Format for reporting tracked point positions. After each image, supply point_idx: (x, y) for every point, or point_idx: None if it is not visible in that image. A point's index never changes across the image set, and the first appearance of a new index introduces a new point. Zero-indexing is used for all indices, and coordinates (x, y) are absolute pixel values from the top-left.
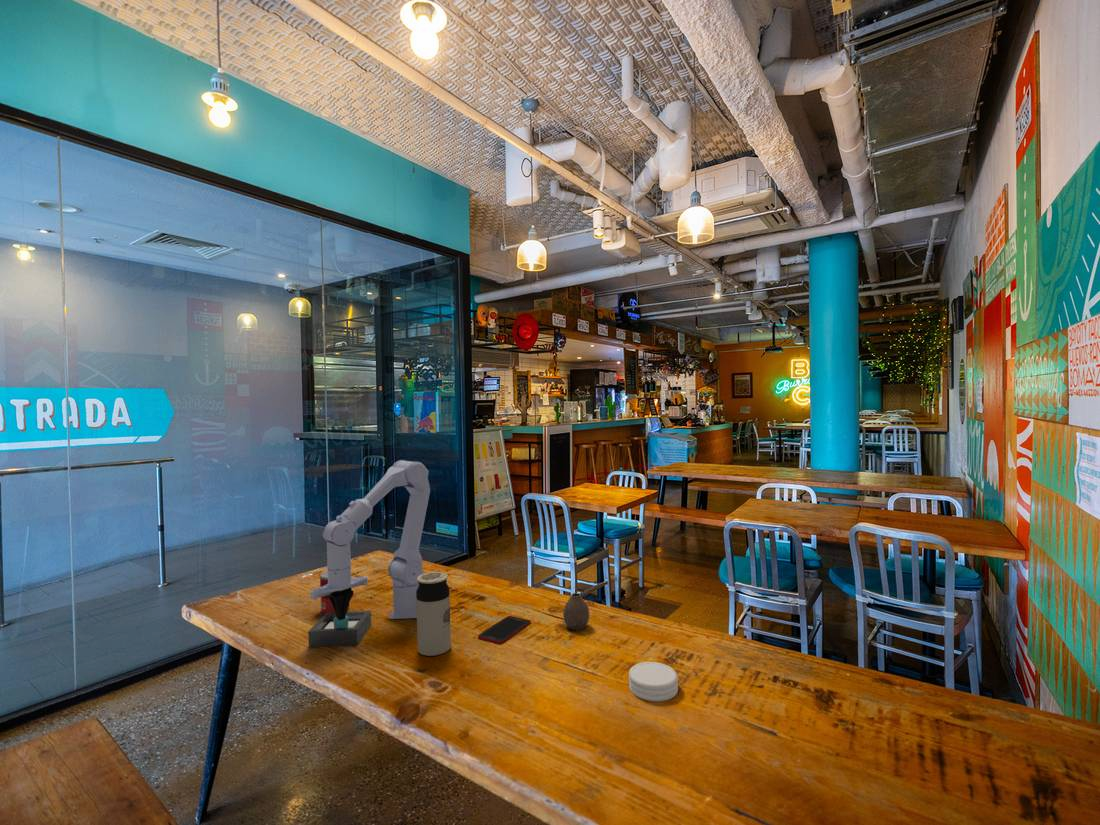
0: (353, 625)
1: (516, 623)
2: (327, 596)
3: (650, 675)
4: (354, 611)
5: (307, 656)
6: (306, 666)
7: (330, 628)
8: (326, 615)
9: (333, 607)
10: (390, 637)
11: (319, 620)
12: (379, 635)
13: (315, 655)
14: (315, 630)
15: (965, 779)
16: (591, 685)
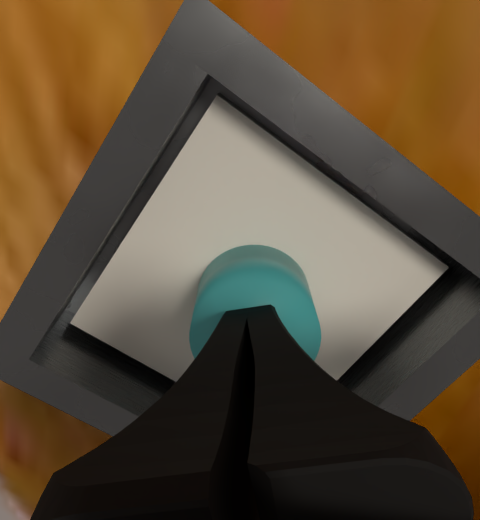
0: (342, 314)
1: None
2: (66, 471)
3: None
4: (445, 192)
5: (22, 400)
6: (14, 485)
7: (180, 252)
8: (171, 93)
9: (187, 369)
10: (461, 459)
11: (82, 193)
12: (433, 405)
13: (63, 414)
14: (31, 380)
15: None
16: None
